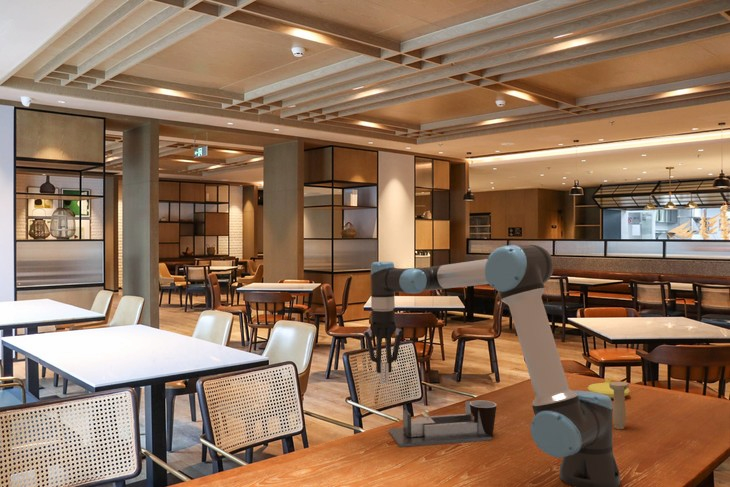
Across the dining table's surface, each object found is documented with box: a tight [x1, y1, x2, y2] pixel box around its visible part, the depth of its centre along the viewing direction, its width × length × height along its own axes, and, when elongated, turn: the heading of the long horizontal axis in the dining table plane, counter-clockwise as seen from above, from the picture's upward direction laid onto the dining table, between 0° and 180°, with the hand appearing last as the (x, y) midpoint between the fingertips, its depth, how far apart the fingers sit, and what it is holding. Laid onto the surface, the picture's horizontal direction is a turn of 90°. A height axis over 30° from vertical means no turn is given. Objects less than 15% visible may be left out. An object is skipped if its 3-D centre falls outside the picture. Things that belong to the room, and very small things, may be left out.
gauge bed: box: [388, 400, 492, 448], centre depth 202 cm, size 16×30×9 cm, turn 100°
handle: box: [609, 381, 630, 430], centre depth 207 cm, size 5×6×15 cm
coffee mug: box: [470, 399, 498, 438], centre depth 204 cm, size 12×9×10 cm
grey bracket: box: [402, 409, 435, 437], centre depth 204 cm, size 11×9×7 cm
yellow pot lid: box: [587, 378, 631, 399], centre depth 248 cm, size 16×16×7 cm
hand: (384, 382), depth 199 cm, fingers closed
